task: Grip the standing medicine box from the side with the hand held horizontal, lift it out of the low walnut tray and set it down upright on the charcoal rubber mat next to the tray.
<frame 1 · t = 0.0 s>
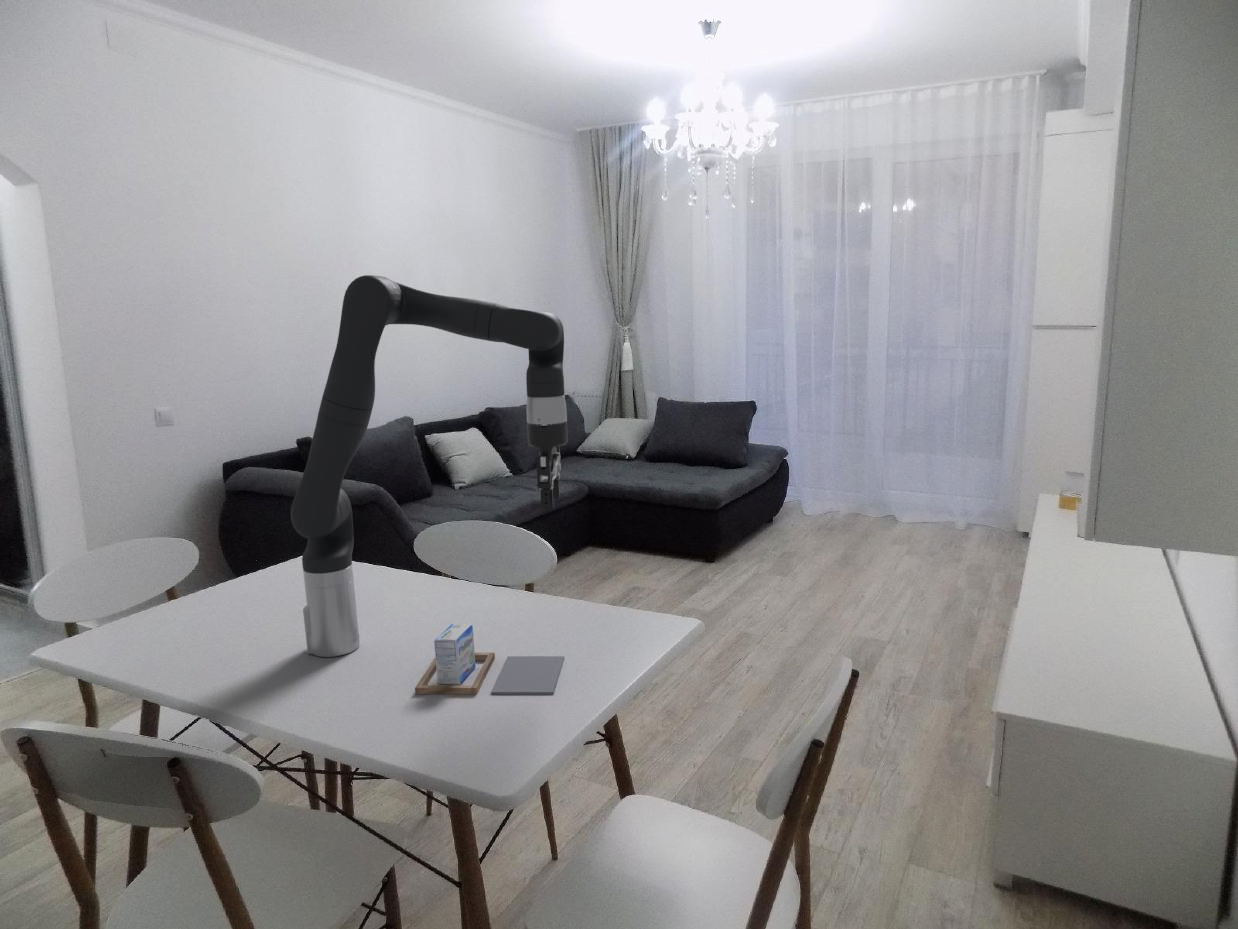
hand: (550, 503, 158), 29 cm above the table, tool pointing down, fingers open, 8 cm apart
walnut tray: (456, 675, 153), on the table
charcoal mat: (529, 675, 152), on the table
medicine box: (457, 676, 153), resting in walnut tray
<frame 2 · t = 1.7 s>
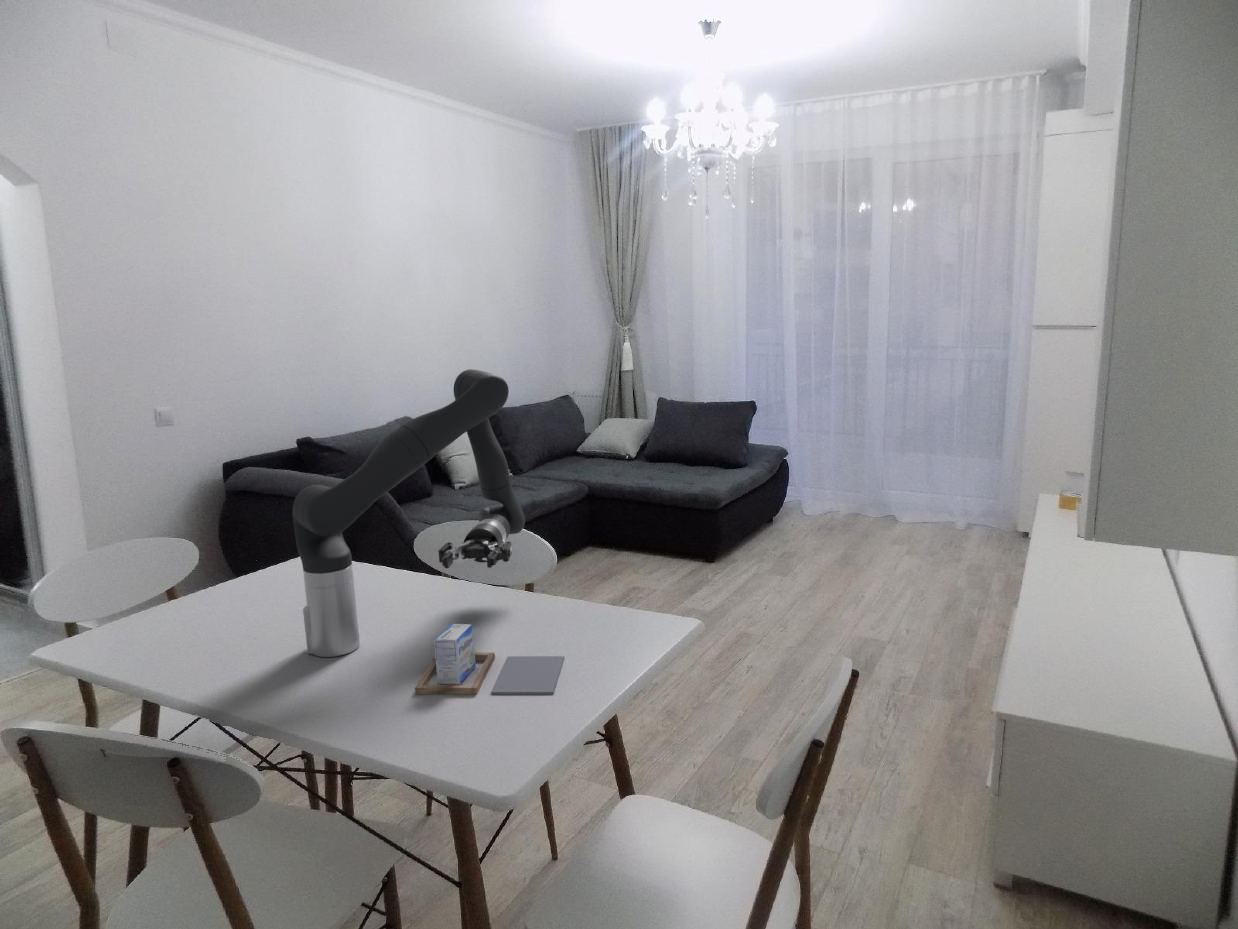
hand: (467, 563, 162), 18 cm above the table, tool horizontal, fingers open, 8 cm apart
nothing on the table moved.
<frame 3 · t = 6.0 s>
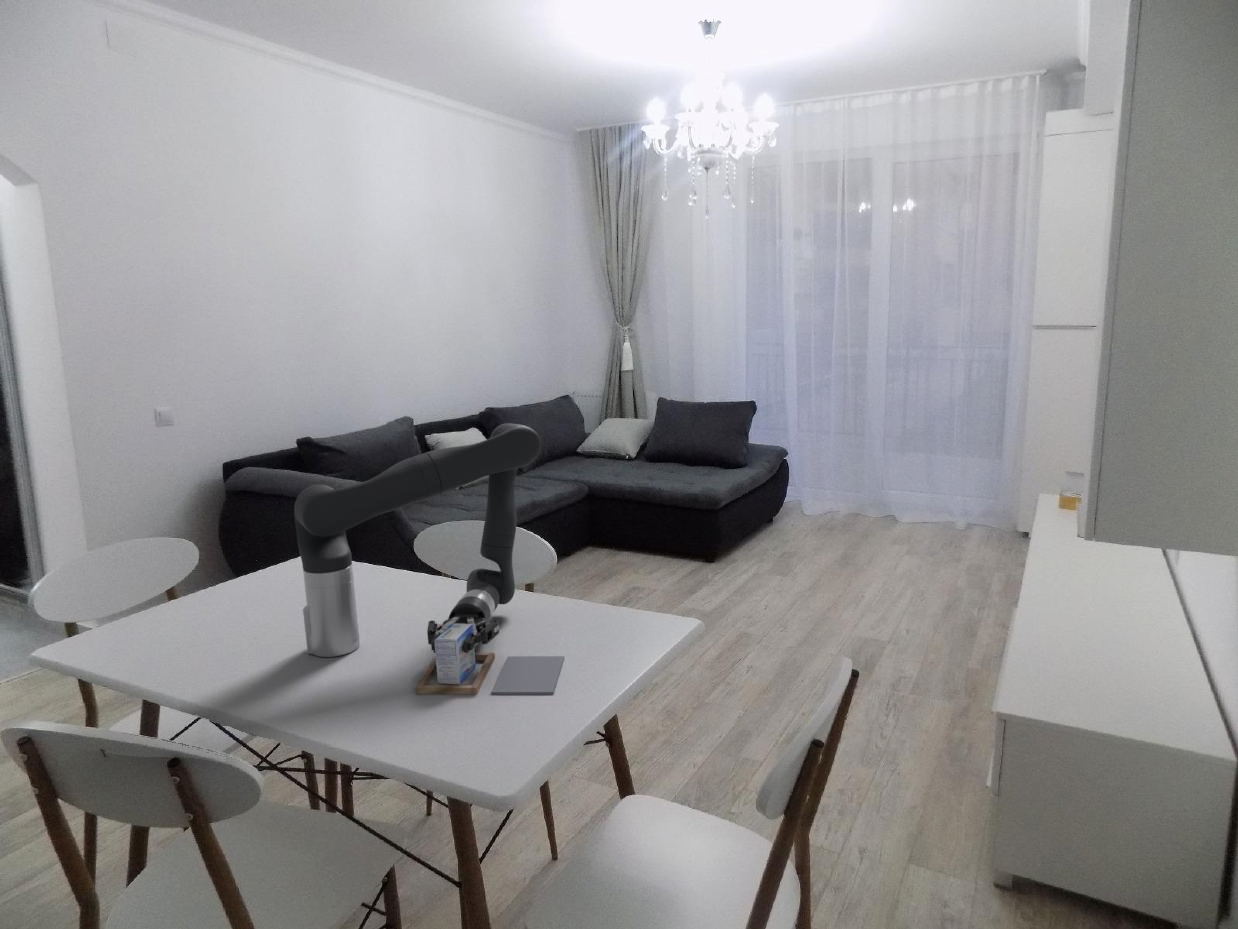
hand: (450, 647, 149), 7 cm above the table, tool horizontal, fingers closed on medicine box, 5 cm apart
medicine box: (457, 676, 153), resting in walnut tray, touching gripper
when the fingers open (8 cm above the table, at t = 11.0 s): medicine box stays where it is, resting on charcoal mat.
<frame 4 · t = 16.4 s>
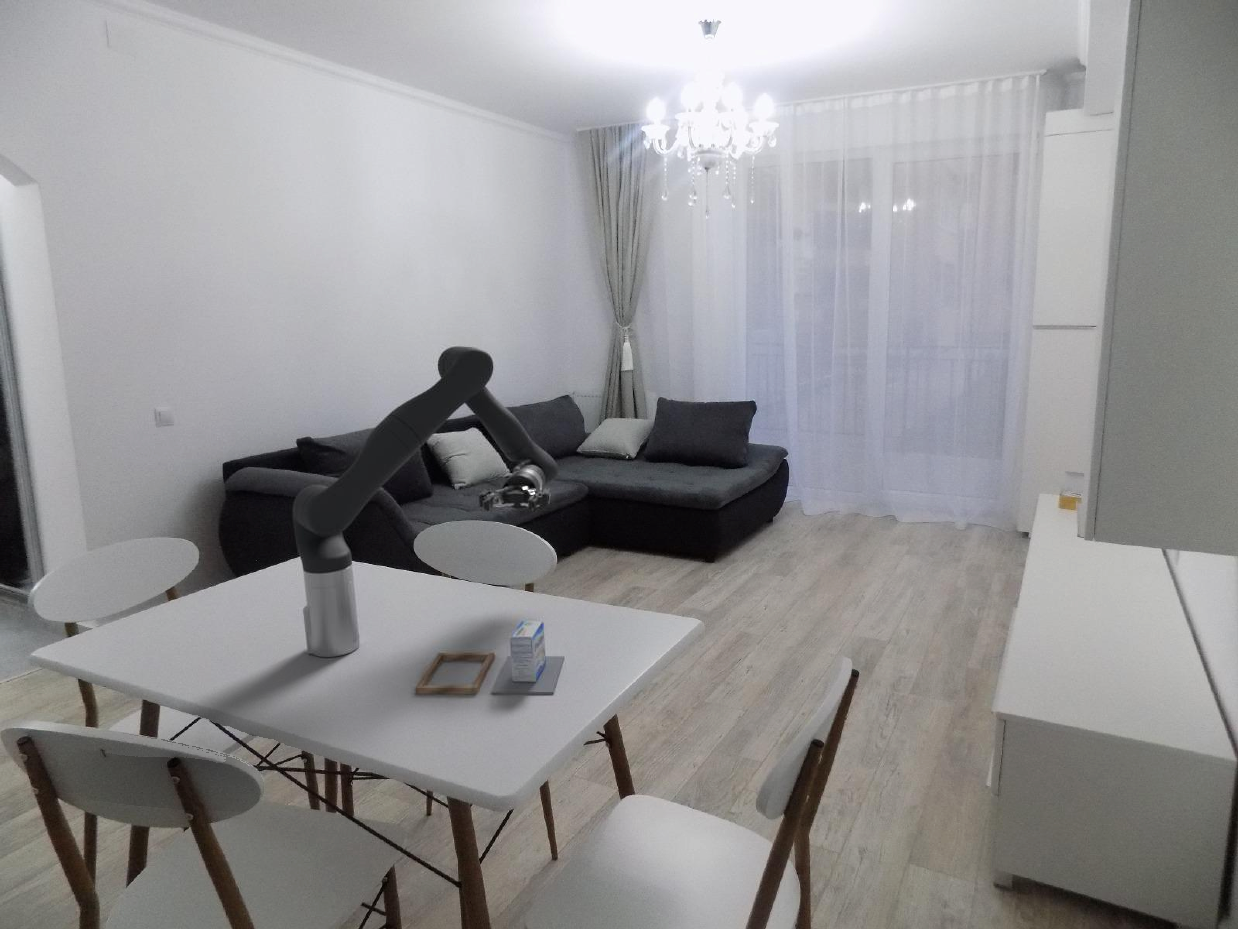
hand: (508, 505, 163), 28 cm above the table, tool horizontal, fingers open, 8 cm apart
medicine box: (529, 674, 152), resting on charcoal mat
at the end: medicine box inside the target area on the charcoal mat (0.1 cm from its centre), point 0.2 cm above the charcoal mat's base; medicine box tilted 0°; the gripper is holding nothing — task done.
